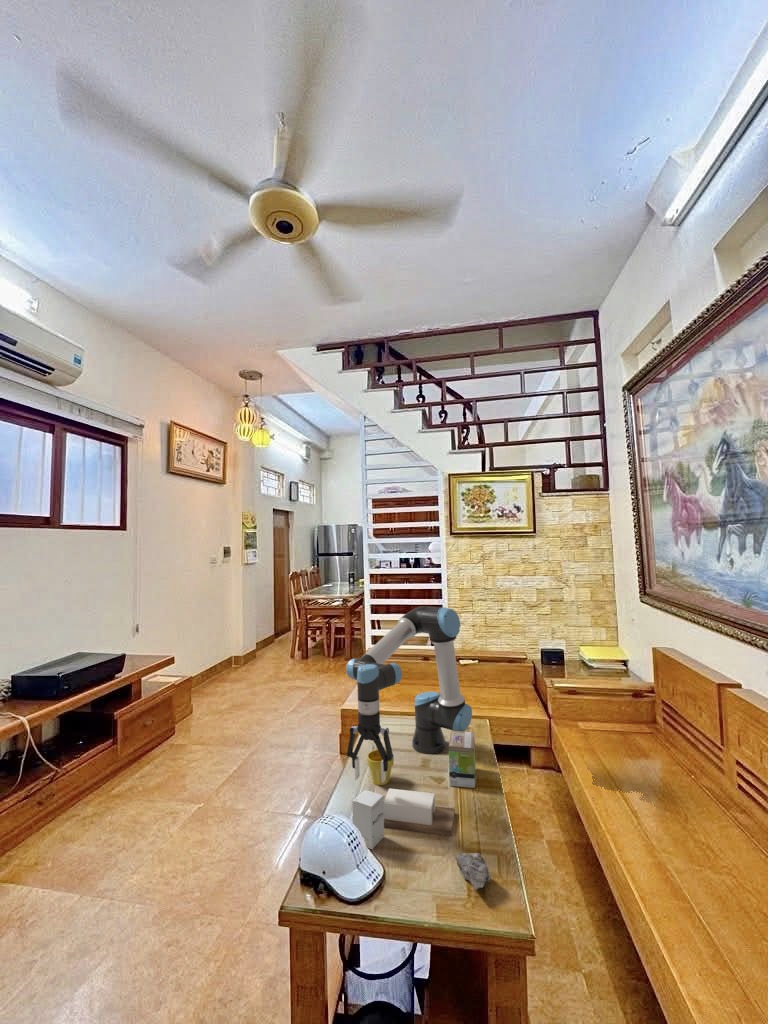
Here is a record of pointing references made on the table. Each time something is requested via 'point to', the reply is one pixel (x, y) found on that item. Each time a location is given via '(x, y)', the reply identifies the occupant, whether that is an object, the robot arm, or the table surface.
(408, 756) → the table surface
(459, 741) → the tea box
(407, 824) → the board
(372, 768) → the plant pot
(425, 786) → the table surface
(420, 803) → the panel
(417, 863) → the table surface
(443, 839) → the table surface
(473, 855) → the mineral specimen
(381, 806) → the supplement box
